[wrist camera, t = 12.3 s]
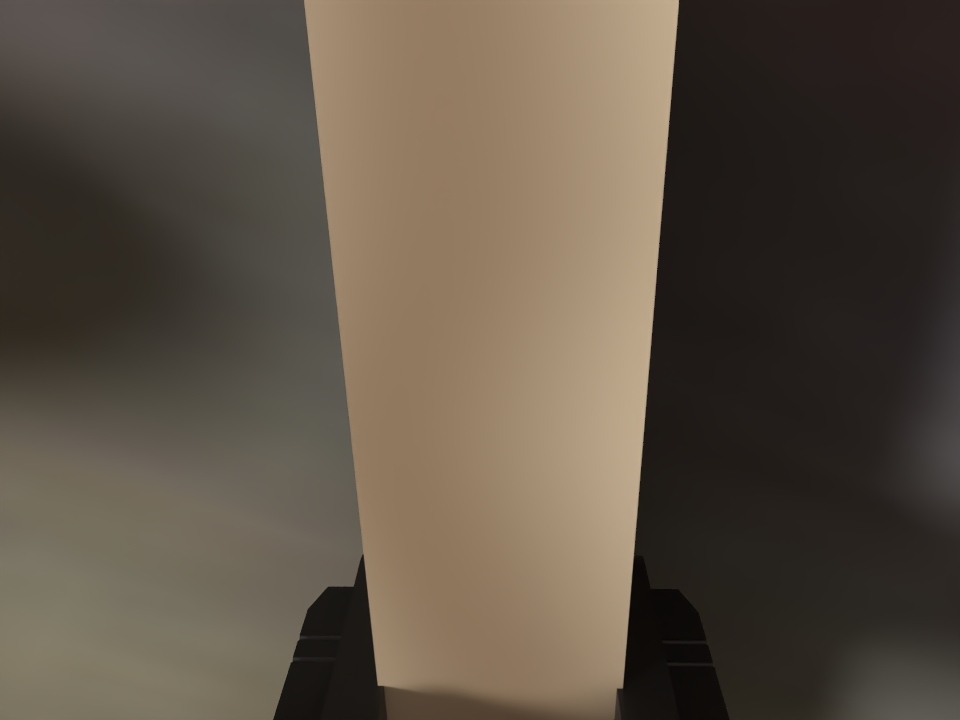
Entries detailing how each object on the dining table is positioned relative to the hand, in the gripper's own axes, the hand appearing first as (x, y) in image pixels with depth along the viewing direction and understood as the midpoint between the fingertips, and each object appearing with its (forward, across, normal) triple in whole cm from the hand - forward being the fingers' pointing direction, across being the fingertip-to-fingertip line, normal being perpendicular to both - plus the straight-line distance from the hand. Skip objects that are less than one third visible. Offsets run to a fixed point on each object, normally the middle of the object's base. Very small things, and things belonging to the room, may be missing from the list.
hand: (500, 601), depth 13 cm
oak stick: (+1, 0, 0) cm, 1 cm away
